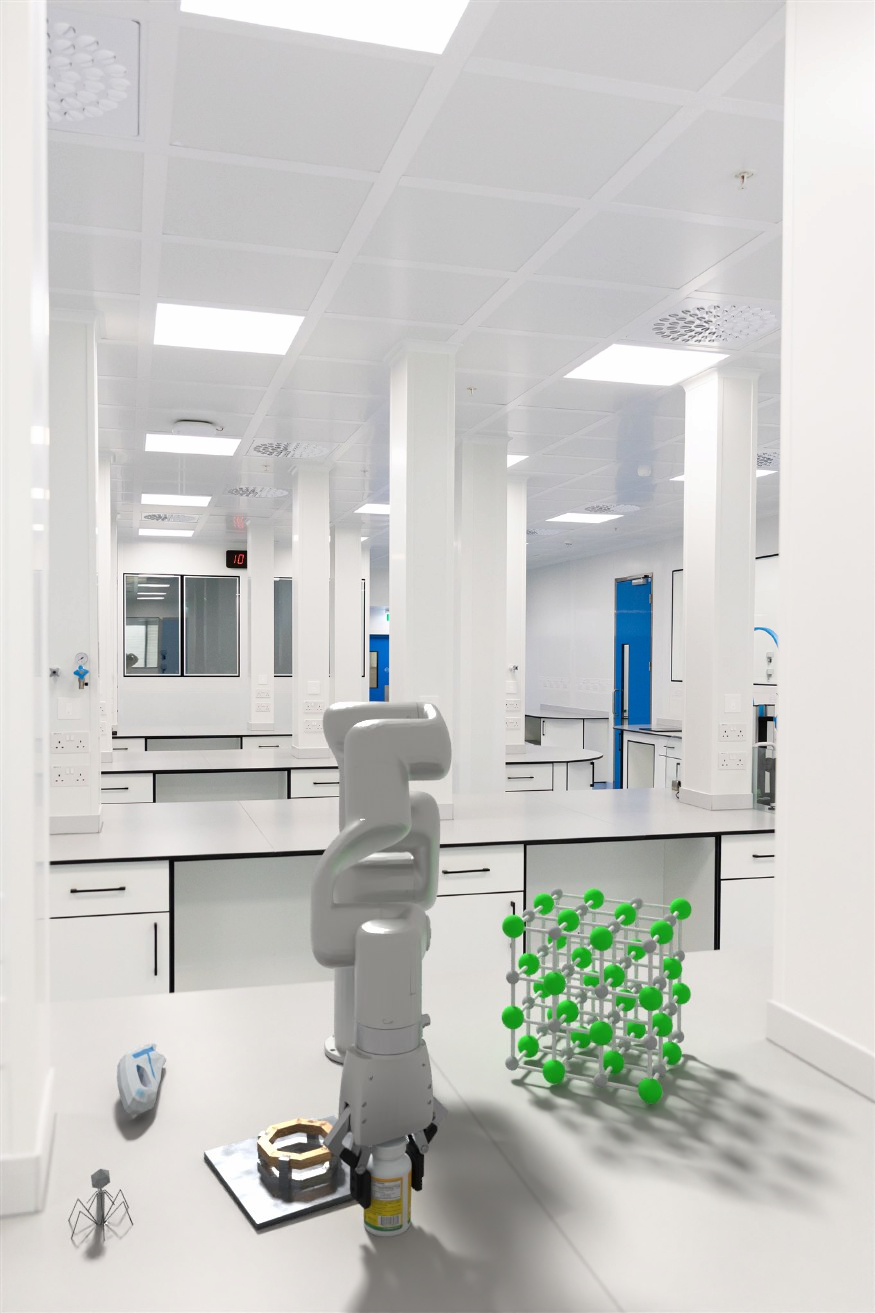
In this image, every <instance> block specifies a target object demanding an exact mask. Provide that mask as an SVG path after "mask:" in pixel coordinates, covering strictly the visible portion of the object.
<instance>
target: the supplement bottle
mask: <svg viewBox="0 0 875 1313" xmlns="http://www.w3.org/2000/svg"><path fill="white" fill-rule="evenodd" d="M406 1144H407V1138H406V1136H403V1137H400V1138H397V1139H393V1140H390V1141H387V1142H383V1143H380V1144H376V1145H373V1149H372V1152H371V1155H370V1158H369V1161H368V1164H367V1168H366V1169H367V1170H368V1171H370V1173H371V1206H370V1207H369V1208H367V1209H363V1225H364V1228H365V1230H366V1231H367V1232H369V1233H371V1234H372V1235H374V1236H377V1237H383V1238H385V1237H387V1238H389V1237H396V1236H400V1235H401V1234H403V1233H405V1232H406V1231H407V1230H408V1229H409V1227H410V1226H411V1219H412V1218H411V1217H412V1187H411V1172H412V1166H411V1160H410V1158H409V1156H408V1155H407V1154H406V1153H405V1151H406Z"/></svg>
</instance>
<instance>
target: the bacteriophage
mask: <svg viewBox="0 0 875 1313" xmlns="http://www.w3.org/2000/svg"><path fill="white" fill-rule="evenodd" d="M110 1176H111V1175H110V1170H108V1169H104V1168H99V1169H98V1170H96V1171H95V1172H94V1173H93V1174H91V1175H90V1181H91V1187H92V1188H93V1189H97V1190H95V1192H94V1193H93V1194H92V1196H91V1197H90V1198H89V1199H88V1201H87V1202H86V1204H88V1203H89V1202H90V1201H91V1199H92V1198H93V1199H92V1201H91V1203H90V1205H89V1207H88V1208H87V1207H86V1206H85V1205H84V1204H83V1202H82V1201H81V1200H80V1198H77V1200H76V1201H75V1204H74V1205H73V1206H74V1207H73V1209H72V1211H71V1214H70V1216H69V1218H68V1221H70V1220H71V1217H72V1215H73V1213H74V1210H75V1208H76V1206H77V1203H78V1202H79V1203H80V1204H81V1205H82V1207H83V1208H84V1209H85V1210H86V1212H87V1213H88V1214H89V1215H90V1217H92V1218H90V1217H89V1216H88V1215H87V1214H85V1213H84V1212H83V1211H81V1210H79V1211H78V1214H77V1215H78V1216H77V1219H76V1221H75V1224H74V1228H73V1230H72V1234H71V1237H70V1240H71V1239H73V1238H74V1234H75V1230H76V1227H77V1224H78V1221H79V1217H80V1214H82V1215H84V1216H85V1217H86V1218H88V1219H89V1220H90V1221H91V1222H93V1223H94V1225H95V1226H99V1227H102V1228H103V1230H102V1231H103V1242H105V1241H106V1240H105V1237H106V1236H105V1225H106V1224H108V1220H109V1219H110V1218H111V1217H112V1216H113V1214H114V1213H115V1212H116V1211H117V1210H118V1209H119V1208H120V1207H121V1205H122V1204H123V1205H124V1208H125V1210H126V1213H127V1215H128V1218H129V1220H130V1223H131V1225H132V1226H133V1225H134V1223H133V1220H132V1218H131V1215H130V1214H129V1210H128V1208H130V1206H129V1204H128V1202H127V1199H126V1198H125V1195H124V1193H123V1191H122V1189H119V1191H118V1192H117V1194H116V1196H115V1198H114V1196H112V1194H111V1193H109V1192H108V1191H107V1190H106V1189H104V1188H106V1187H107V1185H109V1184H110V1183H111V1177H110ZM120 1193H121V1196H122V1197H123V1200H124V1201H122V1202H121V1203H120V1204H119V1205H118V1206H117V1207H116V1208H115V1209H114V1211H113V1212H112V1213H111V1214H110V1215H109V1213H110V1211H111V1209H112V1207H113V1206H115V1201H116V1199H117V1198H118V1196H119V1194H120ZM105 1195H106V1196H105ZM105 1197H107V1198H108V1199H109V1200H110V1202H111V1203H112V1204H111V1205H110V1207H109V1209H108V1211H107V1213H106V1210H105V1209H106V1208H105V1206H106V1205H105V1204H106V1203H105V1202H106V1201H105V1199H106V1198H105ZM111 1198H112V1199H113V1198H114V1199H113V1200H112V1199H111ZM95 1199H96V1218H95V1217H94V1216H93V1215H92V1213H91V1212H90V1209H91V1207H92V1205H93V1203H94V1201H95ZM105 1213H106V1214H105ZM108 1215H109V1216H108ZM107 1216H108V1218H107Z"/></svg>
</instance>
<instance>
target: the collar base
mask: <svg viewBox="0 0 875 1313" xmlns="http://www.w3.org/2000/svg"><path fill="white" fill-rule="evenodd" d="M337 1120H338V1117H336V1116H335V1115H331V1116H327V1117H325V1118H320V1119H319V1118H315V1117H309V1118H308V1119H307V1118H299V1117H298V1118H295V1119H291V1120H287V1121H284V1122H281V1123H276V1124H273V1125H269V1127H268V1128H267V1129H266V1130H262V1131H260V1133H259V1134H258V1135H257V1136H256V1137H251V1138H247V1139H245V1140H241V1141H237V1142H233V1143H230V1144H226V1145H222V1146H219V1147H216V1148H215V1147H214V1148H212V1149H208V1150H204V1151H203V1159H204V1160H205V1161H206V1163H207V1164H208V1165H209V1167H210V1168H211V1169H212V1171H213V1172H214V1174H215V1175H216V1176H217V1178H218V1179H219V1180H220V1183H222V1185H223V1186H224V1188H225V1189H226V1190H227V1192H228V1193H229V1194H230V1196H231V1197H232V1198H233V1200H234V1201H235V1203H236V1204H237V1205H238V1206H239V1208H240V1209H241V1210H242V1212H243V1213H244V1215H245V1216H246V1217H247V1219H248V1220H249V1222H250V1223H251V1225H253V1227H254V1228H255V1229H256V1231H261V1230H264V1229H267V1228H270V1227H273V1226H277V1225H280V1224H283V1223H286V1222H289V1221H292V1220H295V1219H298V1218H301V1217H302V1218H303V1217H305V1216H307V1215H312V1214H315V1213H317V1212H321V1211H325V1210H328V1209H330V1208H333V1207H336V1206H339V1205H343V1204H346V1203H350V1202H352V1201H356V1200H355V1199H353V1198H352V1196H351V1193H350V1166H348V1165H347V1164H346V1163H345V1162H343V1161H342V1160H341V1159H340V1158H339V1157H337V1156H336V1155H334V1154H333V1153H332V1152H330V1151H329V1150H328V1149H327V1148H326V1147H325V1146H324V1145H323V1141H324V1139H325V1137H326V1136H327V1135H328V1133H329V1132H330V1130H331V1129H332V1127H333V1126H334V1125H335V1123H336V1122H337ZM352 1135H353V1134H352V1133H347V1135H346V1136H345V1138H344V1139H343V1141H342V1144H343V1145H344V1146H346V1147H347V1148H349V1145H350V1142H351V1139H352Z"/></svg>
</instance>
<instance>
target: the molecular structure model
mask: <svg viewBox="0 0 875 1313" xmlns="http://www.w3.org/2000/svg"><path fill="white" fill-rule="evenodd" d="M562 898H568V899H578V900H583V902H584V903H581V902H580V903H578V904H577V905H576V906H575V907H571V906H563V905H560V900H561V899H562ZM604 903H609V904H619V905H617V907H616V908H615V910H614V911H613V912H612V911H605V910H604V911H603V910H598V909H600V908H601V907H603V905H604ZM643 907H644V908H645V907H646V908H653V909H661V910H662V909H663V910H669V912H670V913H667V914H665V915H663V917H662V918H661V917H652V916H644V915H640V914H639V912H640V911H639V910H640V909H642V908H643ZM533 908H534V909H533V910H532V909H529V908H528V909H527V908H526V909H525V910H524V911H523V912H522V916H521V917H520V916H519V915H516V914H510V915H508V916H506V917H505V918H504V919H503V921H502V923H501V924H502V925H501V928H502V931H503V934H505V936H507V937H508V938H510V942H511V943H510V944H511V945H510V950H511V951H510V970H509V971H507V973H506V976H505V979H506V982H507V983H508V984H510V1005H509V1006H507V1007H505V1008H504V1009H503V1011H502V1012H501V1013H502V1014H501V1022H502V1024H503V1025H504V1027H506V1028H507V1029H509V1030H510V1056H508V1057H507V1058H506V1059H505V1062H504V1064H505V1067H506V1069H507V1070H509V1071H511V1072H512V1071H516V1070H517V1069H521V1070H526V1071H531V1072H536V1073H540V1074H542V1076H543V1078H544V1080H545V1081H546V1082H548V1083H549V1084H551V1085H557V1084H559V1083H562V1082H563V1081H564V1079H565V1078H566V1079H571V1080H575V1081H582V1082H586V1083H592V1084H594V1085H595V1087H597V1088H599V1089H604V1088H606V1087H612V1088H617V1089H619V1090H620V1089H621V1090H627V1091H630V1092H631V1091H632V1092H636V1093H638V1095H639V1097H640V1099H641V1100H642V1101H643V1102H644V1103H646V1104H651V1105H652V1104H656V1103H658V1102H659V1101H660V1100H661V1099H662V1096H663V1091H664V1090H663V1088H662V1085H661V1083H660V1082H659V1081H658V1079H660V1078H661V1079H662V1078H664V1077H665V1076H666V1075H667V1068H666V1067H667V1066H666V1064H667V1065H670V1066H672V1065H673V1066H675V1065H677V1064H678V1063H679V1062H680V1061H681V1059H682V1057H683V1051H682V1048H681V1046H680V1045H679V1044H681V1043H683V1042H684V1040H685V1034H684V1032H683V1031H682V1005H685V1004H687V1003H688V1002H690V999H691V996H692V992H691V989H690V987H689V986H688V985H687V984H685V983H684V982H682V974H683V973H682V972H683V965H682V964H683V963H682V962H684V960H685V958H686V954H685V952H684V950H683V948H682V947H683V946H682V943H683V941H682V940H683V938H682V936H683V935H682V934H683V920H687V919H688V918H689V917H690V916H691V914H692V911H693V910H692V906H691V903H690V902H689V901H688V900H687V899H685V898H683V897H682V898H681V897H679V898H675V899H673V901H672V902H671V903H670V905H665V904H656V903H645V902H643V899H642V898H640V897H638V896H634V897H632V898H631V899H630V900H624V899H623V900H621V899H612V898H605V896H604V894H603V892H602V891H601V890H600V889H599V888H589V889H588V890H586V891H585V893H584V895H578V894H569V893H563V890H562V889H561V888H560V887H554V888H553V889H551V892H550V894H548V893H546V892H545V893H542V892H541V893H539V894H537V895H536V897H534V900H533ZM553 910H555V917H554V916H547V915H548V914H550V913H552V911H553ZM537 913H538V914H540V915H538V914H537ZM587 914H591V922H590V921H585V917H586V916H587ZM597 915H600V916H609V917H614V919H610V920H609V921H608V922H607V923H599V922H596V920H597V919H596V916H597ZM534 920H541V928H536V927H532V922H533V921H534ZM546 921H547V922H548V921H550V922H555V925H551V926H550V927H549V928H548V929H546ZM640 921H649V922H650V921H651V922H654V923H652V924H651V926H650V929H646V928H639V926H640V925H639V924H640V923H639V922H640ZM525 922H526V926H525ZM632 924H634V927H631V926H630V925H632ZM676 924H677V949H674V934H675V932H674V927H675V926H676ZM585 926H586V927H587V926H588V927H591V932H590V934H585ZM578 927H579V933H576V932H575V933H573V932H574V931H576V930H577V929H578ZM620 931H623V939H621V938H620V939H618V938H617V934H618V933H620ZM524 932H526V952H525V953H523V954H522V955H521V956H520V957H519V959H518V963H517V966H518V969H519V970H518V971H516V939H517V938H519V937H521V936H522V935H523V933H524ZM532 932H533V933H537V934H538V933H539V934H541V943H540V944H539V945H538V946H537V949H536V953H537V954H534V953H532V952H531V948H532V946H531V942H532V941H531V938H532V937H531V935H532ZM629 932H632V933H633V932H634V938H632V939H630V940H629ZM546 934H547V938H546ZM639 934H650V936H651V937H647V938H645V939H644V940H641V939H639ZM572 938H573V939H572ZM574 938H576V939H574ZM577 939H579V940H577ZM546 940H547V943H548V945H547V944H546ZM585 940H587V941H585ZM572 944H576V945H579V946H578V947H576V948H574V950H572ZM617 944H620V945H623V946H619V945H617ZM657 944H658V946H657ZM666 944H668V952H664V947H665V946H664V945H666ZM585 946H587V947H585ZM565 947H566V951H561V950H562V949H563V948H565ZM657 947H658V951H656V949H657ZM610 949H611V958H609V957H605V951H608V950H610ZM596 950H597V951H599V956H596ZM617 951H623V955H622V956H621V957H620V958H619V959H617ZM549 954H551V958H552V961H551V962H552V964H551V965H546V957H547V956H549ZM646 954H647V959H648V960H647V962H648V963H643V962H639V961H641V960H642V959H644V958H645V956H646ZM560 956H564V957H566V963H565V964H563V965H562V967H560ZM654 956H658V964H654ZM664 957H665V958H664ZM540 959H541V963H540ZM633 960H634V961H633ZM596 961H599V968H598V970H599V971H598V970H596ZM605 962H607V963H611V964H608V965H607V966H605V965H604V964H605ZM590 966H591V969H590V970H589V971H585V970H584V969H587V968H588V967H590ZM632 966H633V967H634V974H633V975H634V978H629V977H628V976H629V975H628V974H629V973H628V972H629V971H628V970H629V969H630V968H631V967H632ZM575 967H576V968H578V969H579V970H578V969H575ZM639 967H640V968H645V969H646V968H647V980H644V979H639ZM539 970H540V971H541V973H540V976H539V977H536V978H534V977H531V976H533V975H535V974H536V973H538V971H539ZM546 970H548V971H550V972H548V973H546ZM654 970H658V975H656V976H655V977H654V978H653V975H654ZM522 974H524V975H526V976H521V975H522ZM574 975H578V976H574ZM571 980H572V981H578V982H579V985H578V984H573V983H572V981H571ZM667 980H668V982H667ZM675 980H676V982H674V983H673V981H675ZM519 981H522V982H526V984H525V985H526V989H525V990H526V991H525V992H526V993H525V994H526V995H525V996H524V997H523V998H522V1001H521V1004H522V1007H521V1008H520V1007H519V1006H516V984H517V983H518V982H519ZM531 983H532V984H533V985H532V989H533V992H534V995H533V996H532V995H531ZM629 983H630V984H629ZM643 985H645V986H643ZM667 985H668V989H667V990H665V989H666V988H667ZM609 987H610V988H611V989H609ZM617 988H621V989H620V990H618V991H617ZM571 989H573V990H578V991H576V992H572V991H571ZM590 992H591V995H590V994H589V993H590ZM560 995H563V996H566V999H565V1000H562V1001H560ZM608 995H611V998H610V997H608ZM664 995H667V996H668V998H667V999H668V1000H667V1001H668V1002H666V1003H665V1004H664ZM551 996H552V997H551ZM549 997H551V998H552V999H551V1000H552V1002H551V1004H546V999H548V998H549ZM572 997H574V998H575V1001H574V1000H572V999H571V998H572ZM538 998H540V999H541V1000H540V1002H536V1000H537V999H538ZM588 999H589V1000H590V1001H591V1004H590V1005H591V1007H590V1008H591V1010H590V1011H588V1010H584V1009H585V1008H584V1004H585V1003H586V1002H587V1001H588ZM596 1001H598V1004H599V1005H598V1008H599V1009H598V1010H599V1011H598V1012H596ZM604 1002H607V1003H611V1010H609V1011H608V1012H607V1014H606V1013H605V1012H604V1010H605V1009H604V1007H605V1006H604ZM578 1005H579V1006H578ZM535 1007H537V1008H540V1009H541V1010H540V1014H541V1015H540V1020H536V1019H535V1020H534V1019H531V1010H532V1009H533V1008H535ZM639 1008H643V1009H644V1011H645V1010H646V1011H647V1020H641V1019H640V1018H639ZM546 1009H547V1011H546ZM632 1010H633V1017H628V1012H631V1011H632ZM525 1011H526V1013H525V1014H526V1015H524V1012H525ZM655 1011H658V1012H656V1013H654V1014H653V1012H655ZM621 1012H623V1013H622V1014H623V1015H622V1016H621ZM675 1015H676V1023H677V1024H676V1029H675V1030H673V1026H674V1023H673V1016H675ZM525 1016H526V1018H525ZM584 1016H588V1017H587V1018H586V1019H584ZM546 1017H547V1020H548V1021H546ZM604 1019H607V1021H605V1020H604ZM574 1022H575V1023H578V1024H579V1025H577V1026H576V1027H574V1026H571V1025H572V1024H571V1023H574ZM619 1022H623V1023H622V1025H618V1024H619ZM564 1023H566V1025H563V1024H564ZM523 1024H525V1027H526V1028H525V1030H526V1032H525V1034H524V1035H522V1036H520V1038H519V1040H518V1042H517V1050H518V1053H520V1054H519V1055H518V1056H517V1057H516V1030H517V1029H519V1028H520V1027H521V1026H523ZM584 1024H586V1025H587V1026H584ZM531 1025H536V1029H535V1031H536V1034H537V1036H536V1037H535V1036H534V1035H532V1034H531ZM561 1030H563V1031H566V1033H562V1032H560V1031H561ZM617 1030H619V1031H622V1035H619V1034H617V1032H616V1031H617ZM548 1035H549V1036H551V1049H548V1048H543V1047H540V1043H539V1040H540V1039H541V1038H542V1037H546V1036H548ZM557 1037H559V1038H565V1039H566V1040H565V1043H566V1044H565V1045H566V1046H563V1047H562V1049H561V1051H559V1050H557ZM656 1037H658V1038H656ZM664 1038H665V1039H667V1041H665V1042H664ZM617 1040H618V1042H616V1041H617ZM571 1042H572V1046H571ZM663 1042H664V1043H663ZM591 1043H592V1044H595V1045H597V1046H598V1058H595V1057H589V1056H585V1055H580V1054H575V1051H576V1049H577V1048H579V1049H585V1048H588V1047H589V1046H590V1045H591ZM632 1043H638V1044H643V1046H644V1047H641V1046H636V1045H635V1046H634V1045H632ZM604 1046H609V1047H611V1049H610V1050H607V1051H606V1052H605V1053H604ZM657 1047H658V1050H656V1048H657ZM617 1048H619V1051H617V1050H616V1049H617ZM629 1051H636V1052H642V1053H647V1067H643V1066H638V1065H635V1064H634V1065H633V1064H627V1063H625V1059H624V1057H623V1054H624V1053H627V1052H629ZM538 1053H544V1054H550V1055H551V1059H549V1060H546V1061H545V1063H544V1064H543V1066H542V1068H540V1067H535V1066H531V1065H525V1064H520V1061H521V1060H522V1059H523V1058H526V1059H530V1058H534V1057H536V1055H538ZM653 1055H658V1056H657V1057H658V1059H657V1061H658V1062H656V1063H655V1064H653ZM557 1056H558V1057H559V1056H560V1057H562V1058H561V1060H558V1059H557ZM572 1059H576V1060H579V1061H580V1060H581V1061H585V1062H591V1063H597V1064H598V1073H597V1074H595V1075H594V1077H593V1078H591V1077H586V1076H582V1075H576V1074H571V1073H566V1068H565V1066H564V1064H565V1063H566V1061H571V1060H572ZM623 1069H629V1070H634V1071H639V1072H644V1073H647V1074H646V1075H647V1077H645V1078H643V1079H642V1080H641V1081H640V1082H639V1084H638V1087H637V1086H632V1085H627V1084H621V1083H617V1082H613V1081H609V1080H608V1077H609V1074H611V1075H616V1074H617V1075H618V1074H619V1073H621V1072H622V1071H623ZM604 1071H605V1072H604Z"/></svg>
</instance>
